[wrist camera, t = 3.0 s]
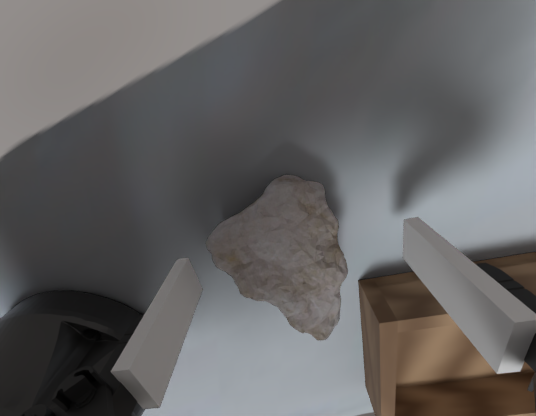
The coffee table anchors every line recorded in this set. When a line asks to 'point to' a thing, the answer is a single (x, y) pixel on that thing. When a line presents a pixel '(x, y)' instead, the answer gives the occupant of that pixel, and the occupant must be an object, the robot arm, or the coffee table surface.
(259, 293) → the stone
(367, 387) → the tray
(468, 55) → the coffee table surface
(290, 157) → the coffee table surface
